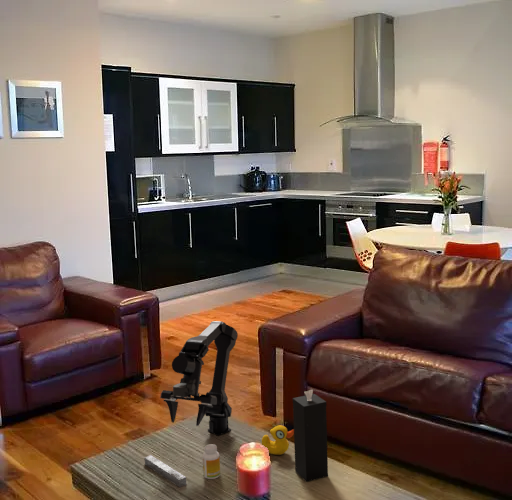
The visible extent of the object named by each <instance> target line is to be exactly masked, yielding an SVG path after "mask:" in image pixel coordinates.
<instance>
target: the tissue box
mask: <svg viewBox="0 0 512 500" xmlns="http://www.w3.org/2000/svg"><path fill="white" fill-rule="evenodd" d="M313 392H314V389H309V390H307V391H304V395H302V396H298V397H292V411H293V414H292V415H293V429H294V435H293V440H294V441H293V442H294V445H293V446H294V467H295V468H294V470H295V473H296V474H297V475H299V477H301V478H302V479H303V480H304V482H312V481H317V480H318V479H323V478H327V477H329V468H328V467H329V466H328V463H329V461H328V457H329V456H328V429H327V427H328V425H327V407H328V405H327V401H326V400H324V399H323V398H321V396H319V395H317V394H315V393H313Z"/></svg>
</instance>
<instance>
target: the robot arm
mask: <svg viewBox="0 0 512 500" xmlns="http://www.w3.org/2000/svg"><path fill="white" fill-rule="evenodd" d="M238 334H239V333H238V331H237V329H236V328H234V327H233V326H231V325H228V324H227V323H226V322H224V321H218V320H213V321H211V322H210V323H209V325H208V326H207V327H206V328H204V330H203V331H202V332H201V333H200V334H199V335H197V336H193V337H190V338H188V339H187V340H186V341H185V343H184V344H183V347H182V348H181V350H180V351H179V352H178V355H177V356H175V357H174V358H173V360H172V362H171V368H172V371H174V372H175V373H178V374H180V375H183V377H182V378H181V379H180V382H179V383H176V384H174V385H173V386H172V390H162V391H161V393H160V397H159V398H160V399H163V402H165V403H166V405H167V406H168V410H169V415H170V422H171V423H173V424H174V423H175V420H176V416H177V412H178V411H177V410H178V406H179V401H177V400H182V401H183V400H185V401H191V402H192V401H193V402H200V403H198V404H197V405H198V406H197V407H198V411H197V416H196V421H195V422H196V427H198V426H200V424H201V423H202V420H203V419H204V417H205V416H206V417H209V420H208V427H209V428H207V432H210V433H211V434H214V435H215V436H221V435H224V434H226V433H228V432H231V431H232V428H230V427H229V418H230V417H232V412H233V411H232V410H233V409H232V407H231V405H230V404H229V402H228V400H229V399H228V395H227V393H226V391H225V390H226V389H225V388H226V382H227V377H228V369H229V367H228V366H229V360H230V353H231V351H232V350H233V348H234V347H235V346H236V343H237V342H236V341H237V339H238ZM212 343H214V344H215V345H214V346H215V347H216V356H215V365H214V370H213V378H212V384H211V389H210V390H209V391H207V392H206V393H205V394H203V393H202V394H201V393H200V392H199V390H200V389H199V388H200V385H202V381H201V375H202V374H201V373H202V369H203V368H202V367H203V366H204V365H205V362H204V360H203V358H204V357H206V355H207V353H208V352H209V350H210V348H209V346H210V345H211V344H212Z"/></svg>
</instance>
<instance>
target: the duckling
mask: <svg viewBox="0 0 512 500" xmlns="http://www.w3.org/2000/svg"><path fill="white" fill-rule="evenodd" d="M269 433H270V435H271V436H272V438H273V440H274V441H273V440H271V439H270V437H269V435H268V434H264V435H263V436H262V438H261V446H262V445H264V446H265V447H267V448H268V450H269V454H271V455H278V456H279V455H280V456H281V455H283V454H285V453H286V452H287V451H288V449H289V448H290V442H289V441H288V439H291V438H292V437H294V428H293V429H291V430H289V431H288V428H287V427H286V426H284V425H282V424H281V425H280V424H279V425H276V426H274V427H273V428H271V429H270V431H269Z"/></svg>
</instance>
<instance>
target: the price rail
mask: <svg viewBox="0 0 512 500" xmlns="http://www.w3.org/2000/svg"><path fill="white" fill-rule="evenodd" d="M143 459H144V465H145V466H146V467H147V468H150V470H153V471H154V472H156V473H157V474H158V475H160V476H162V477H163V478H165V479H166V480H168V481H170V482H171V483H172V484H174V485H175V486H177V487H179V488H182V487H184V486H187V477H186V476H185V475H184V474H182V473H180V472H179V471H178V470H176V469H174V468H172V467H171V466H169V465H168V464H166V463H164V462H163V461H161V460H159V458H156V457H155V456H153V455H152V454H149V455H147V456H144V457H143Z"/></svg>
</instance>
